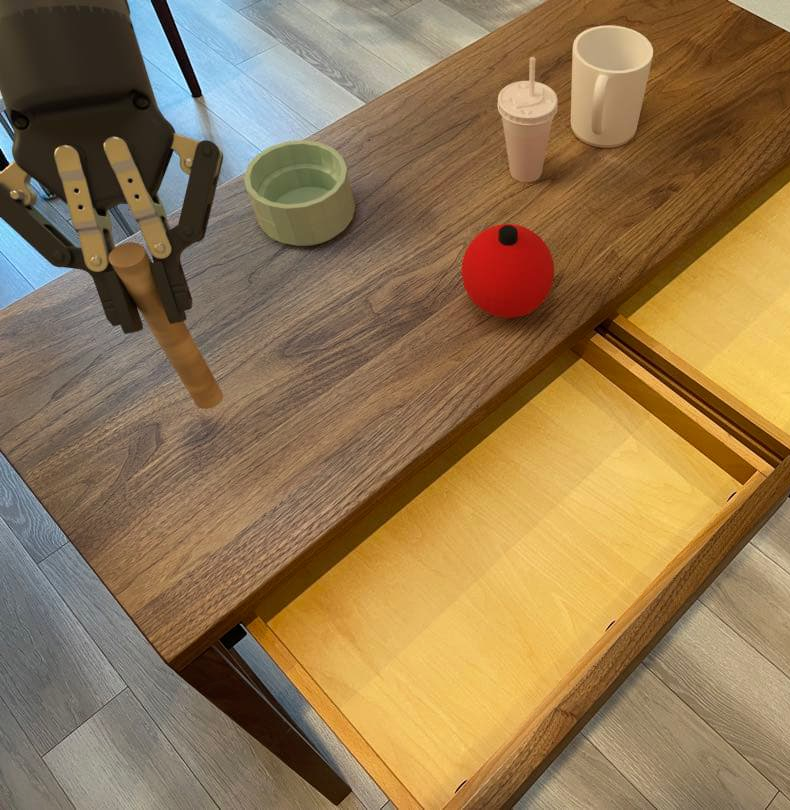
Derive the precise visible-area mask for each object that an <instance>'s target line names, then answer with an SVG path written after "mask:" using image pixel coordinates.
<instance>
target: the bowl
mask: <svg viewBox="0 0 790 810" xmlns="http://www.w3.org/2000/svg"><path fill="white" fill-rule="evenodd" d="M243 182H244V185H245V189H246V192H247V196H248V198H249V201H250V204H251V206H252V209H253V212H254V215H255V217H256V220H257V222H258V225H259V228H261V230H262V231H263V232H264V233H265V235H266V236H267V237H269V238H271V239H273V240H275V241H277V242H278V243H281V244H286V245H291V246H295V247H296V246H297V247H310V246H311V247H312V246H316V245H320V244H323V243H326V242H329V241H330V240H332V239H334V238H335V237H337V236H338V235H339V234H340V233H342V232H344V231H345V230H346V228H347V227H348V226H349V224H350V223H351V222H352V220H353V218H354V215H355V209H356V204H355V200H354V196H353V189H352V185H351V181H350V176H349V171H348V167H347V164H346V161H345V158H344V157H343V156H342V155H341V154H340V152H339V151H337V150H336V149H335V148H333V147H331V146H329V145H328V144H325V143H323V142H320V141H313V140H307V139H301V140H288V141H284V142H281V143H277V144H275V145H271V146H269V147H267V148H266V149H264V150H262V151H261V152H259V153H258V154H256V155H255V156H254V157H253V158H252V160H250V162H249V163H248V164H247V166H246V170H245V172H244V175H243Z"/></svg>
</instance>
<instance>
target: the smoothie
mask: <svg viewBox="0 0 790 810" xmlns="http://www.w3.org/2000/svg"><path fill="white" fill-rule="evenodd" d="M528 73H529V75H528V76H529V77H528V80H519V81H515V82H511V83H509V84H507V85H506V86H505V87H503V88H502V89H501V90H500V92H499V93H498V95H497V107H496V108H497V110H498V112H499V114H500V116H501V121H502V127H503V134H504V141H505V147H506V155H507V162H508V167H509V174H510V176H511V177H512V178H513V179H514V180H515V181H517V182H520V183H533V182H535V181H537V180H539V179H540V178H541V176H542V174H543V169H544V164H545V160H546V154H547V149H548V144H549V138H550V136H551V135H550V134H551V129H552V125H553V119H554V117H555V116H556V114H557V113H558V109H559V108H558V107H559V105H558V102H559V101H558V96H557V93H556V92H555V90H554V89H552V88H551V87H550V86H548V85H546V84H545V83H542V82H538V81H536V80H535V79H536V58H535V57H534V56H531V57H530V58H529V71H528Z"/></svg>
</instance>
